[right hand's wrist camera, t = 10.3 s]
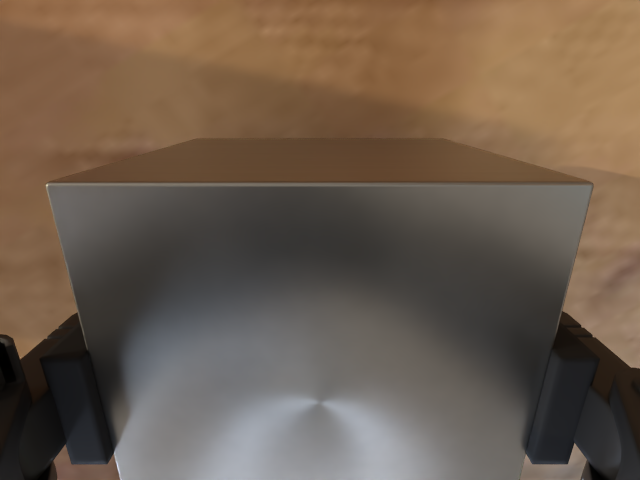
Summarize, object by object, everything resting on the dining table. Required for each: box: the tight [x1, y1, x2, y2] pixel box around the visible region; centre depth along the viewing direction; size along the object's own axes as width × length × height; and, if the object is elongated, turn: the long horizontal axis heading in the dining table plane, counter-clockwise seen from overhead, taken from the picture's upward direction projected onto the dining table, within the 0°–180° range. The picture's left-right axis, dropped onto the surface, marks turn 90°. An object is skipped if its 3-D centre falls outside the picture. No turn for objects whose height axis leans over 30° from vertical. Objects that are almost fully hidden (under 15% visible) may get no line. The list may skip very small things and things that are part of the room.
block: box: [46, 139, 593, 480], centre depth 12 cm, size 9×9×8 cm
